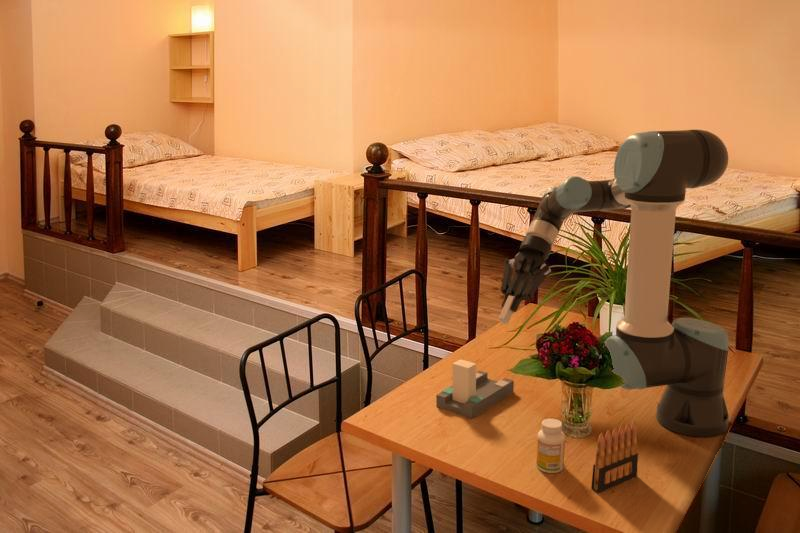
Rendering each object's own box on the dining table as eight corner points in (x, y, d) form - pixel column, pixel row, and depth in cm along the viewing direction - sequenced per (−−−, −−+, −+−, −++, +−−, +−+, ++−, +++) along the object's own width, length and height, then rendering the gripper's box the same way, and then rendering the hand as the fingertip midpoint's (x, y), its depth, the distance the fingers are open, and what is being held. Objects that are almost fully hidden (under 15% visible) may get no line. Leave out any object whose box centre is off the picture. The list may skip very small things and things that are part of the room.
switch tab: (460, 395, 183) (460, 359, 180) (475, 400, 180) (476, 363, 178) (452, 399, 180) (452, 363, 178) (467, 404, 178) (468, 368, 175)
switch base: (479, 381, 194) (479, 369, 193) (513, 391, 188) (513, 379, 187) (436, 406, 181) (436, 393, 180) (471, 418, 175) (471, 405, 174)
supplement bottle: (547, 457, 158) (549, 414, 155) (569, 466, 154) (571, 423, 151) (530, 466, 154) (532, 422, 152) (552, 477, 151) (555, 432, 148)
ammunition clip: (629, 472, 152) (634, 417, 149) (637, 476, 150) (641, 420, 147) (590, 488, 146) (594, 431, 143) (598, 493, 145) (601, 435, 142)
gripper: (566, 253, 195) (531, 333, 187) (521, 246, 203) (486, 323, 195) (556, 236, 190) (521, 318, 182) (511, 230, 198) (474, 308, 190)
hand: (503, 320), depth 188 cm, fingers closed
